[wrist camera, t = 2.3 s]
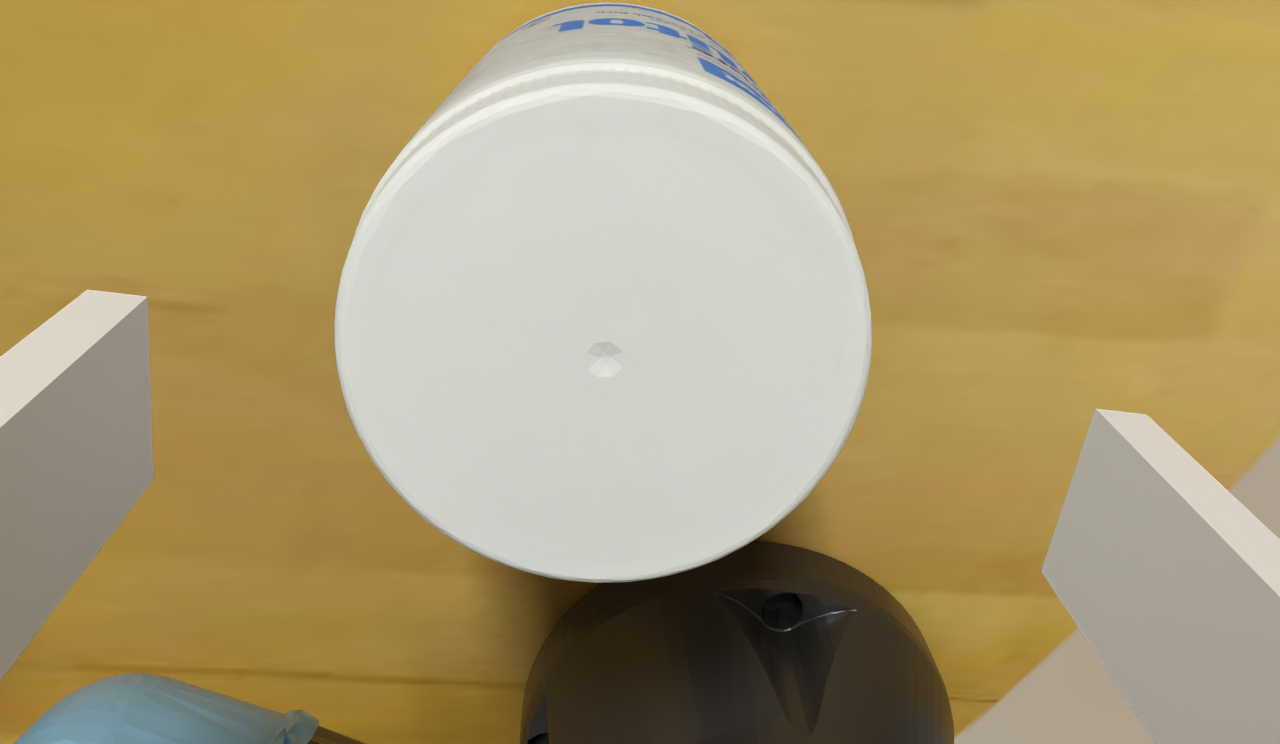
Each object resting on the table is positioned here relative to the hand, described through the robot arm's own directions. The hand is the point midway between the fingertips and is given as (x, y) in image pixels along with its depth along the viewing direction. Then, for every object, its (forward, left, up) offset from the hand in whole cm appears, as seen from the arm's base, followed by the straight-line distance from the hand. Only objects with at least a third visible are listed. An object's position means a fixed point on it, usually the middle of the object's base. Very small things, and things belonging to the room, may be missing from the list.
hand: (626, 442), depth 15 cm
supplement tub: (0, 0, -18) cm, 18 cm away
